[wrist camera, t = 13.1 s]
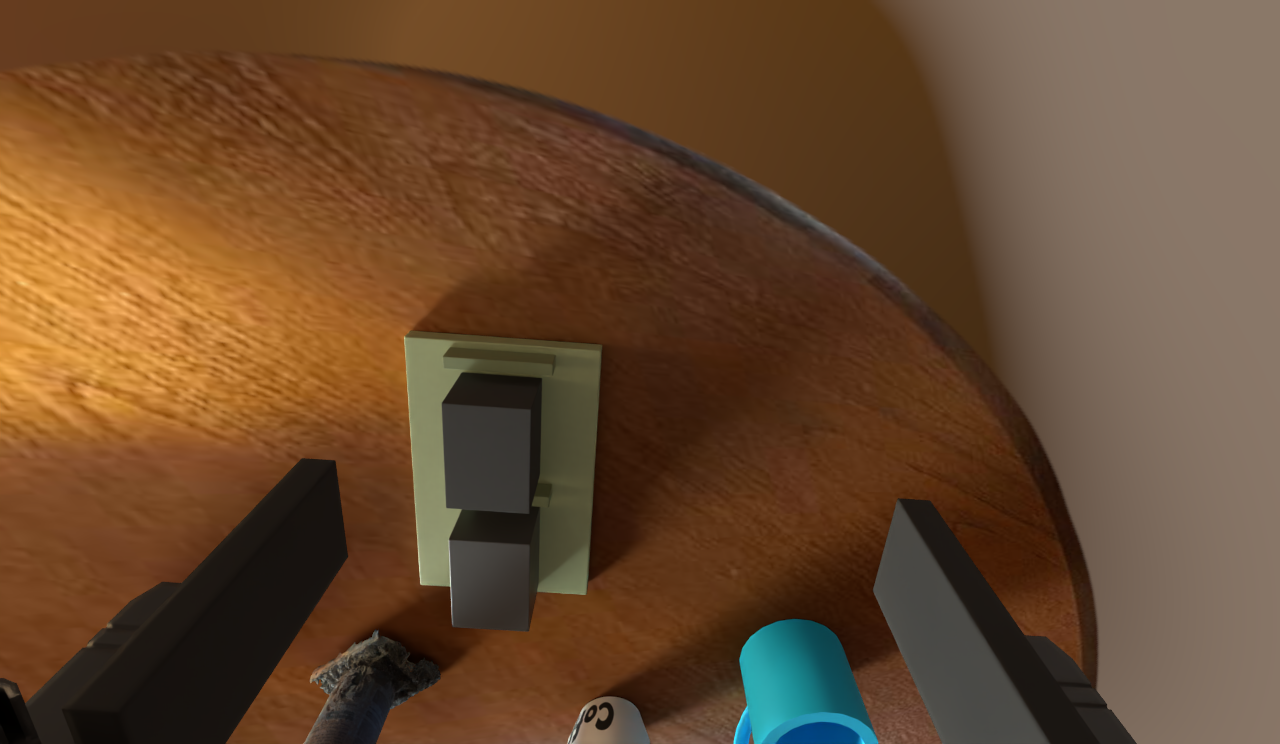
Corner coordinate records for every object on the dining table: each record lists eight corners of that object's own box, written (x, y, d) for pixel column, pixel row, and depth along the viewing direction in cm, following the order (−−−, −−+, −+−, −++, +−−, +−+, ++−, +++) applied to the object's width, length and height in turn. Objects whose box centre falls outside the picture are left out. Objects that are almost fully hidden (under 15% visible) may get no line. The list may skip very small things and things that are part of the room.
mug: (783, 602, 49) (810, 693, 41) (865, 648, 50) (904, 744, 43) (690, 698, 52) (698, 798, 45) (768, 738, 54) (789, 840, 47)
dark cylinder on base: (369, 614, 49) (290, 763, 38) (450, 667, 51) (397, 823, 40) (302, 678, 51) (210, 835, 40) (382, 726, 54) (315, 888, 42)
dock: (410, 330, 40) (375, 364, 35) (602, 344, 41) (597, 380, 35) (425, 573, 48) (398, 632, 42) (588, 583, 48) (581, 643, 43)
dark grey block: (461, 371, 40) (441, 402, 36) (542, 377, 40) (531, 409, 36) (464, 469, 43) (445, 508, 39) (540, 474, 43) (529, 513, 39)
